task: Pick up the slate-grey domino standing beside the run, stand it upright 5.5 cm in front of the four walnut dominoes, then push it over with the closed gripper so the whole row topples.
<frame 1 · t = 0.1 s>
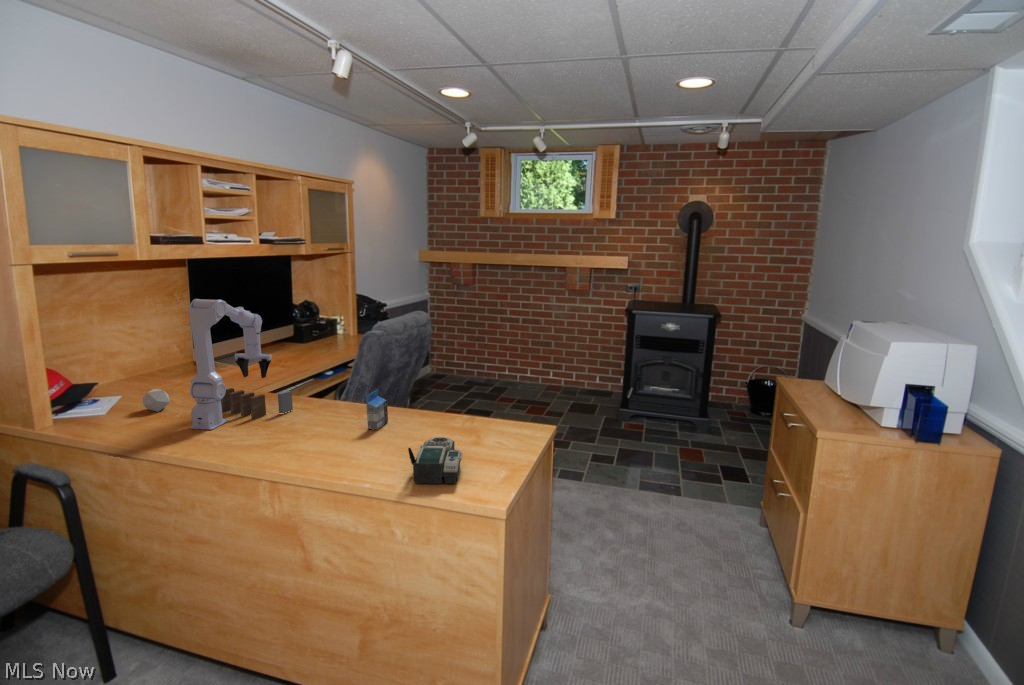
hand: (254, 377, 212), 10 cm above the table, fingers open, 7 cm apart
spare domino: (286, 412, 201), on the table
domino 1: (258, 417, 195), on the table
domino 3: (238, 412, 200), on the table
domino 2: (248, 414, 198), on the table
communication device: (438, 465, 158), on the table
label tape box: (377, 426, 188), on the table
domino 4: (228, 410, 202), on the table
die: (157, 410, 201), on the table
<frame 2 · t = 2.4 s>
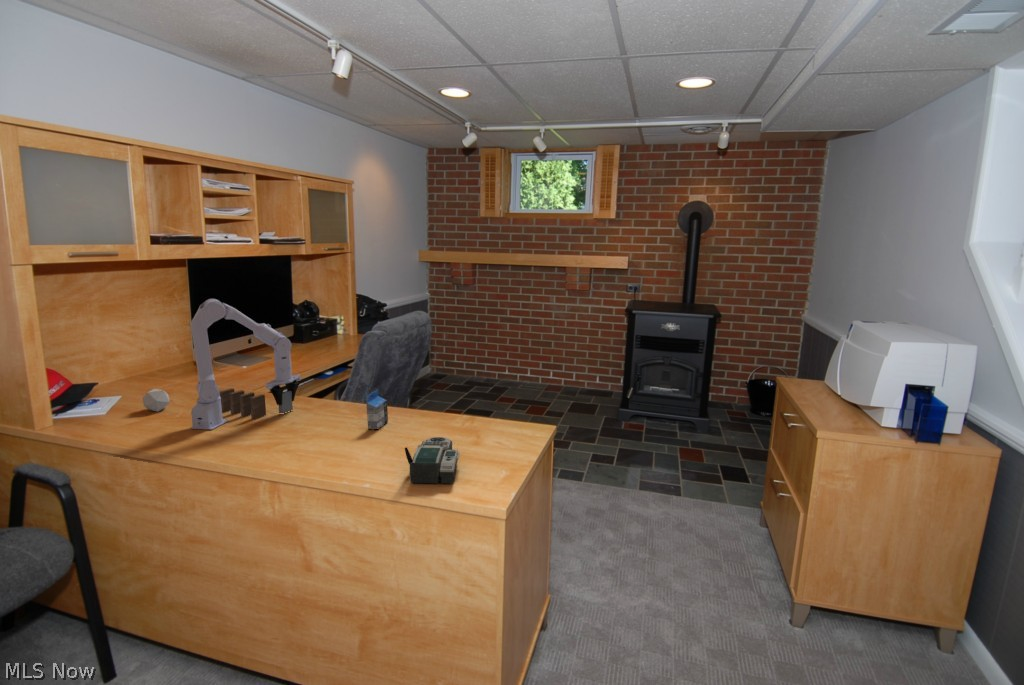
hand: (285, 402, 200), 4 cm above the table, fingers closed on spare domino, 5 cm apart
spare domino: (286, 412, 201), on the table, touching gripper
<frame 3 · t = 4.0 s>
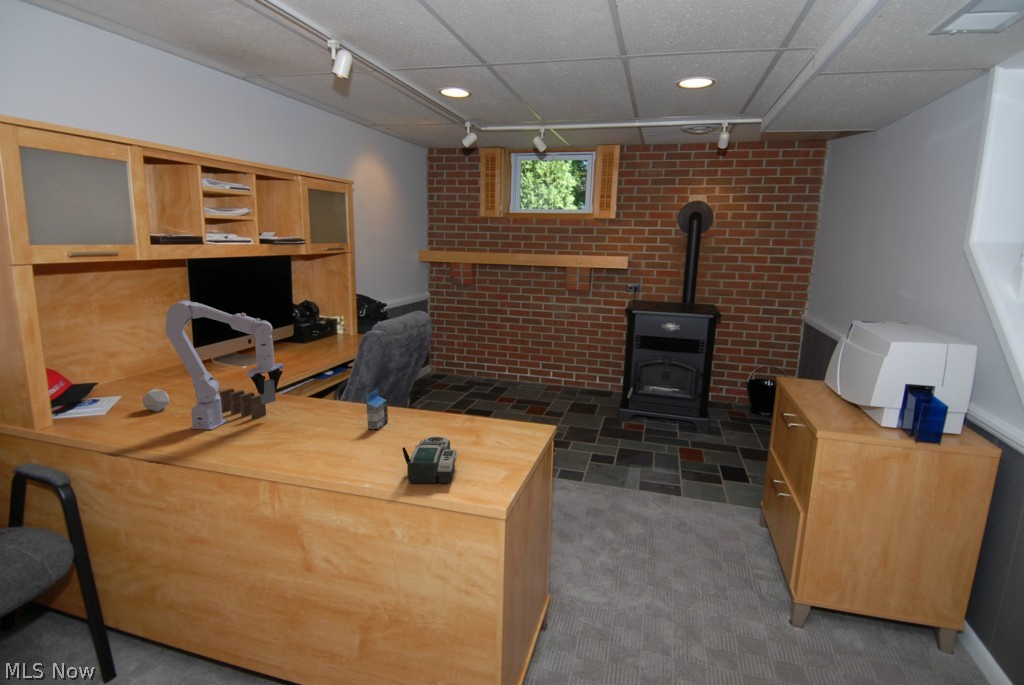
hand: (267, 391, 191), 10 cm above the table, fingers closed on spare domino, 5 cm apart
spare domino: (268, 402, 192), point 6 cm above the table, touching gripper
when the fingers open (5 cm above the table, at t = 5.8 s): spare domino drops 1 cm, on the table.
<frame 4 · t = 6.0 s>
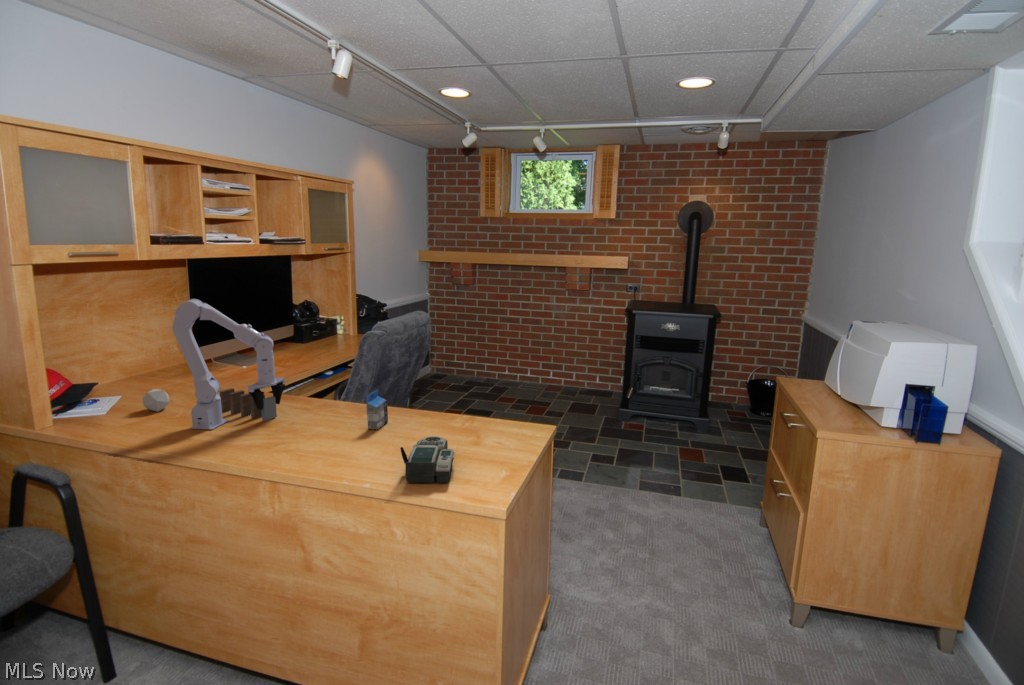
hand: (268, 406, 192), 5 cm above the table, fingers open, 7 cm apart
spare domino: (269, 419, 193), on the table
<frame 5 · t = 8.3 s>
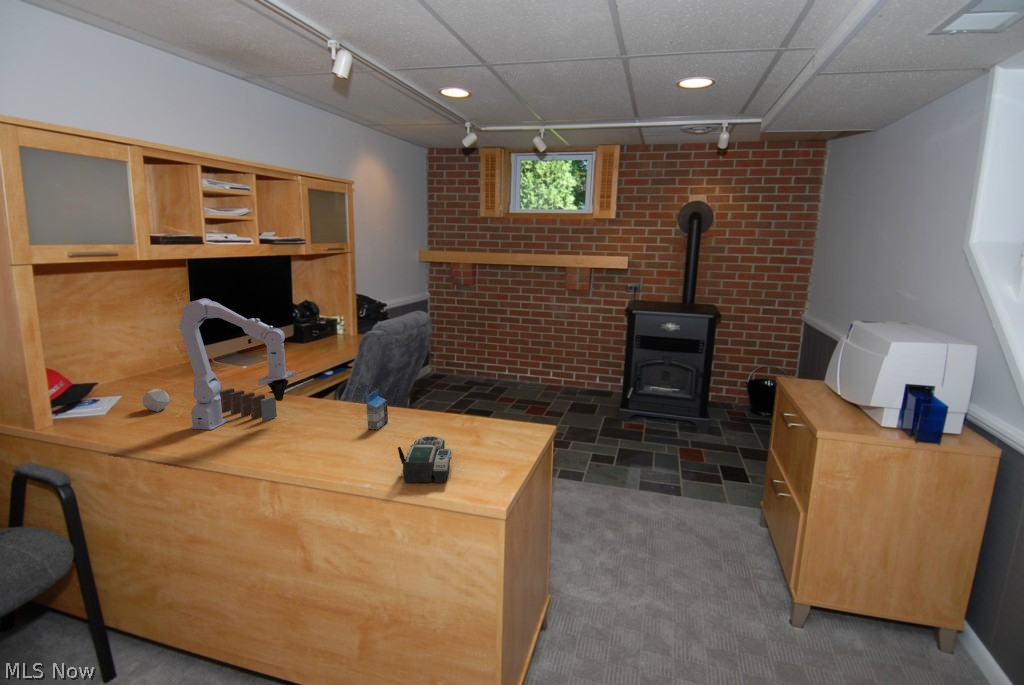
hand: (279, 400, 189), 8 cm above the table, fingers closed
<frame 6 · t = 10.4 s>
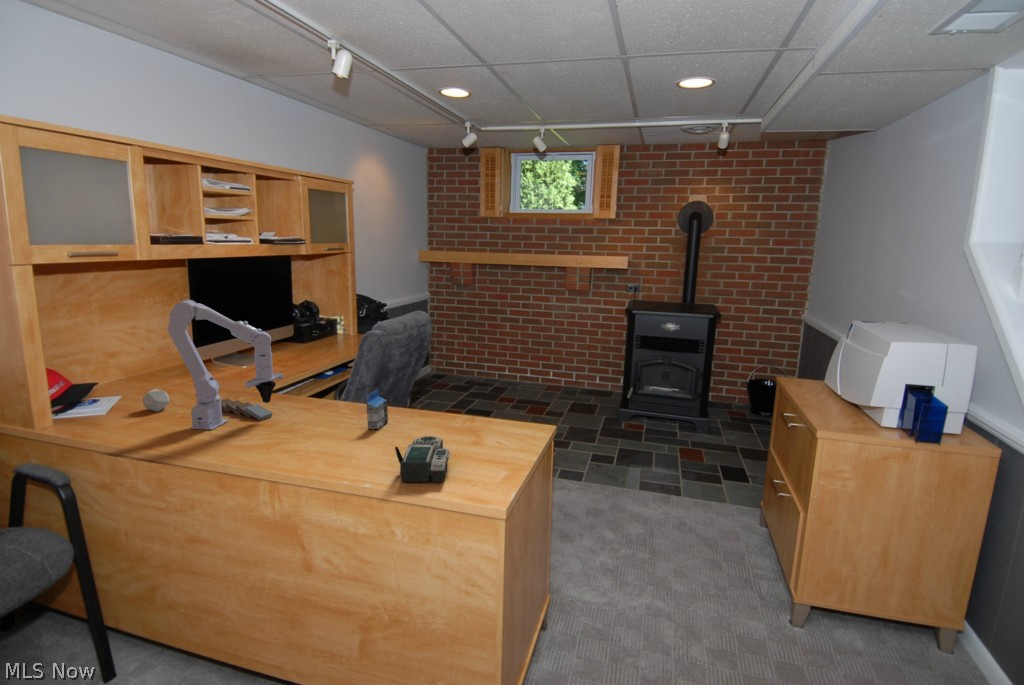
hand: (266, 402, 192), 6 cm above the table, fingers closed
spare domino: (266, 416, 193), point 1 cm above the table, tilted 73°
domino 1: (256, 414, 196), point 1 cm above the table, tilted 74°, touching domino 2
domino 3: (235, 409, 201), point 1 cm above the table, tilted 78°
domino 2: (246, 412, 198), point 1 cm above the table, tilted 74°, touching domino 1
domino 4: (226, 409, 203), on the table, tilted 90°
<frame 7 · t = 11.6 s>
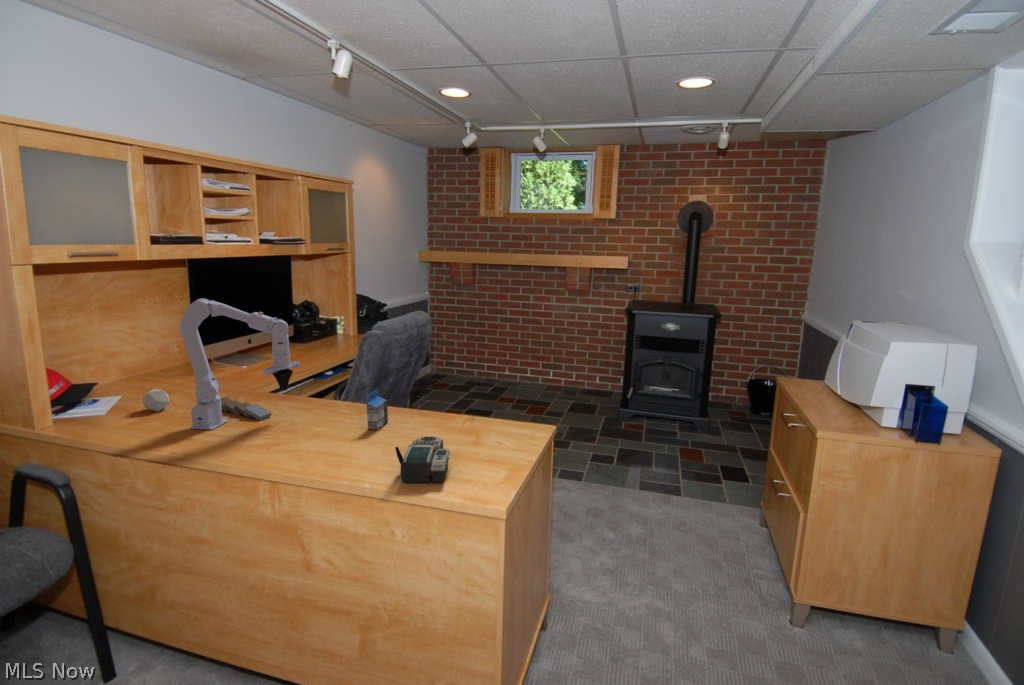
hand: (283, 389, 194), 10 cm above the table, fingers closed
domino 3: (233, 408, 202), point 1 cm above the table, tilted 76°
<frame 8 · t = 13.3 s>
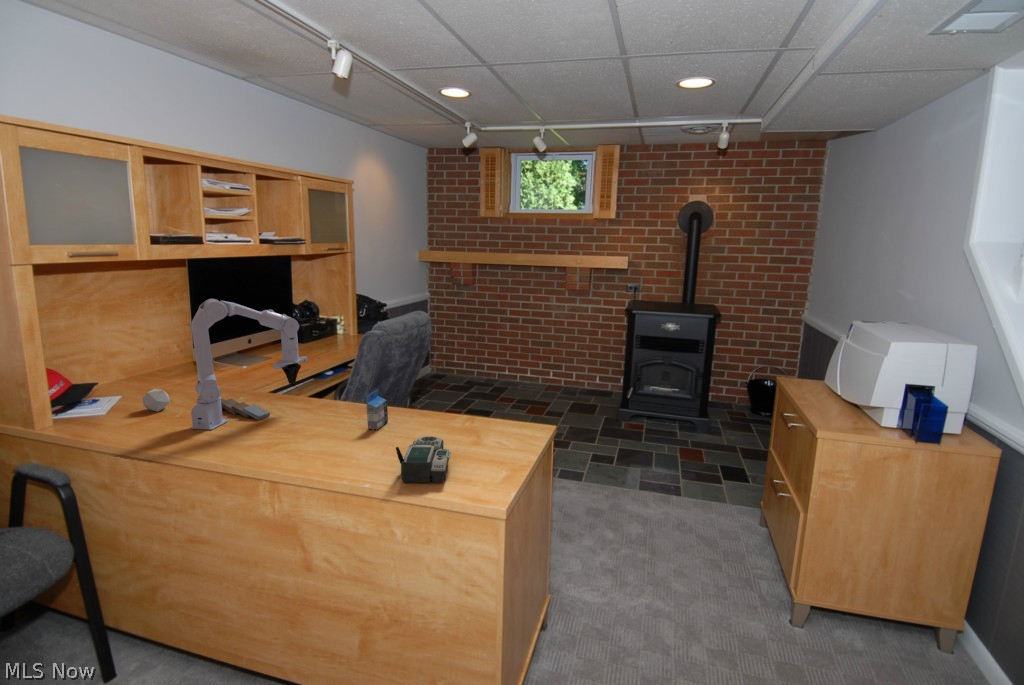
hand: (292, 383, 202), 10 cm above the table, fingers closed
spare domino: (264, 416, 194), point 1 cm above the table, tilted 74°, touching domino 1
domino 1: (253, 413, 196), point 1 cm above the table, tilted 75°, touching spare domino
domino 3: (228, 405, 202), point 2 cm above the table, tilted 90°, touching domino 4
domino 2: (240, 411, 199), point 1 cm above the table, tilted 71°
domino 4: (225, 408, 203), on the table, tilted 90°, touching domino 3
at the end: domino 4 tilted 90°; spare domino tilted 75°; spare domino inside the target area (0.4 cm from its centre), point 0.7 cm above the table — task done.
